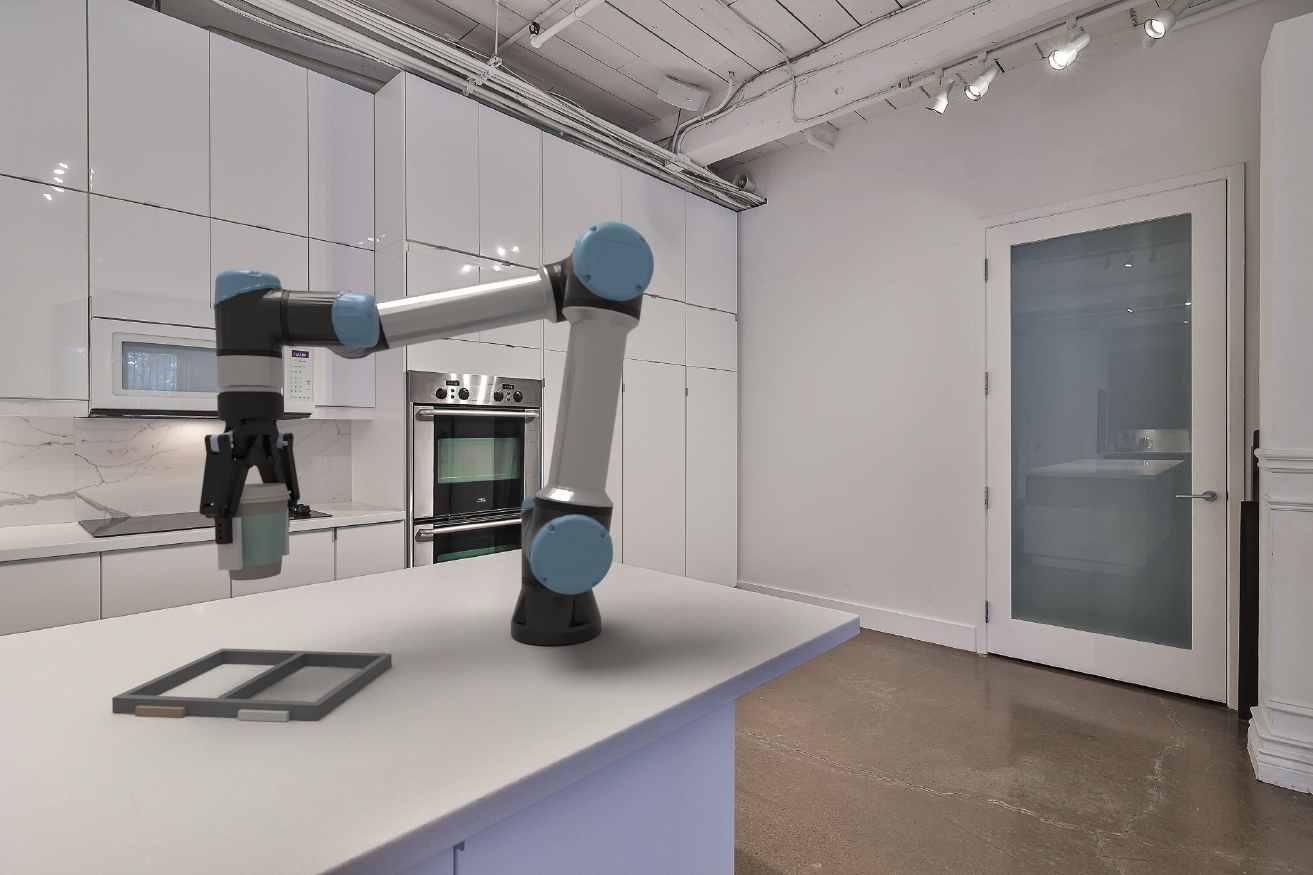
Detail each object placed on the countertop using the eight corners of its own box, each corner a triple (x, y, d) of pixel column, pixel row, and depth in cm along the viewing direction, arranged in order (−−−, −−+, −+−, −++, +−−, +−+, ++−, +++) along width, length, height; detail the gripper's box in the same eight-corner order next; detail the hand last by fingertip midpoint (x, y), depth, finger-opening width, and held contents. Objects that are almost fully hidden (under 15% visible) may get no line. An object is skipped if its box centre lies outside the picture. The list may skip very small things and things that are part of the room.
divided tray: (391, 666, 96) (391, 653, 96) (314, 722, 77) (314, 707, 77) (222, 660, 98) (221, 648, 98) (108, 714, 80) (107, 699, 80)
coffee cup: (307, 570, 91) (304, 483, 91) (249, 585, 83) (247, 489, 82) (260, 567, 94) (258, 482, 93) (201, 580, 86) (198, 487, 85)
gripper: (277, 395, 99) (281, 546, 99) (156, 387, 77) (162, 580, 78) (325, 394, 98) (329, 546, 98) (216, 385, 77) (222, 580, 77)
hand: (255, 561), depth 88 cm, fingers closed on coffee cup, 8 cm apart
